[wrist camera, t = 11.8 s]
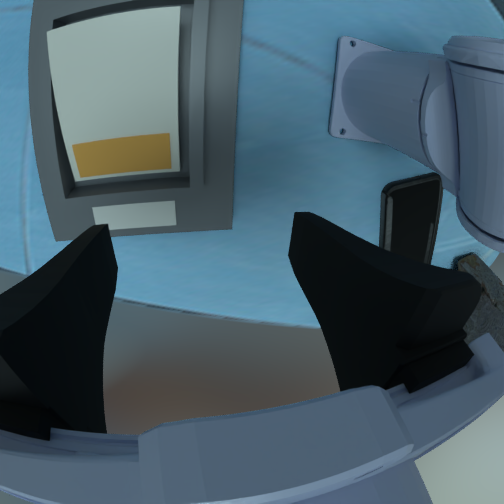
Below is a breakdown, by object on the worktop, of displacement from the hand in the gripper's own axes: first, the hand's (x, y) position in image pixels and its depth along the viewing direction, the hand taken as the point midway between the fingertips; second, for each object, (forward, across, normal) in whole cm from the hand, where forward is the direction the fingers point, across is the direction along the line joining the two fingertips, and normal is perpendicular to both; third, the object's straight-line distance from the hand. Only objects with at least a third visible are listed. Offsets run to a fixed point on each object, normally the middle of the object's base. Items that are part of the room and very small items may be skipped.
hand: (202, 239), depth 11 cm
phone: (+11, -22, +8) cm, 25 cm away
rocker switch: (+7, +4, -5) cm, 10 cm away
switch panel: (+10, +4, -5) cm, 12 cm away
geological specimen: (+10, -35, +16) cm, 39 cm away
